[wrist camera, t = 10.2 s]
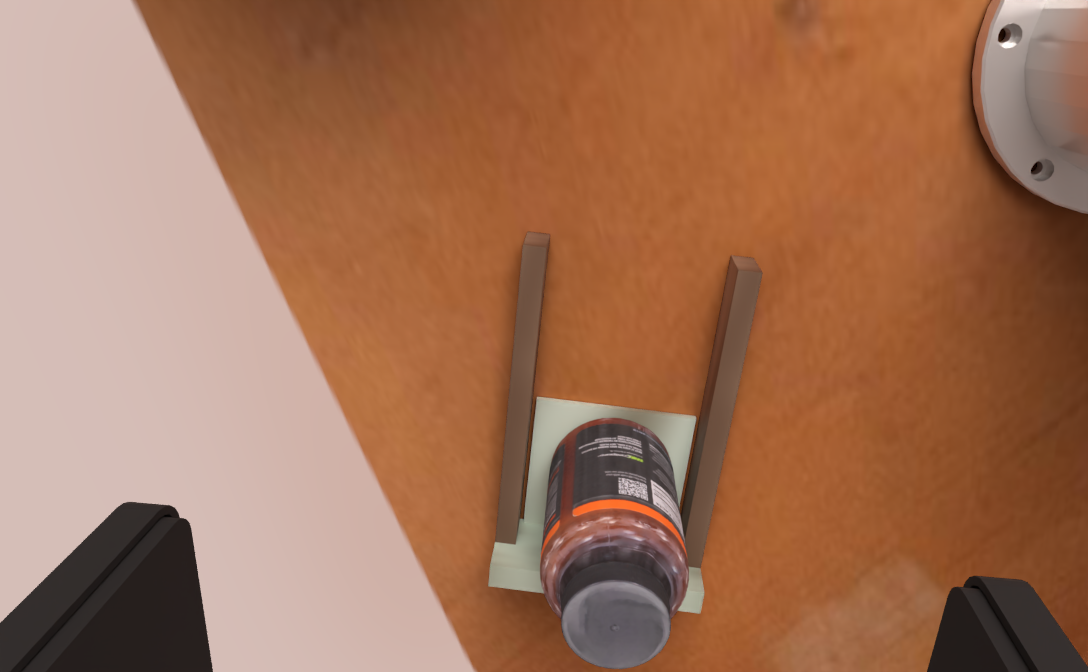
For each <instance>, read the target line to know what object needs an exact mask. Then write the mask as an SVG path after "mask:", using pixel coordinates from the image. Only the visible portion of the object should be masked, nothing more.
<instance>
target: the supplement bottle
mask: <svg viewBox="0 0 1088 672" xmlns="http://www.w3.org/2000/svg"><path fill="white" fill-rule="evenodd" d="M541 550H542V551H541V561H540V580H541V585H542V589H543V592H544V595H545V597H546V599H547V601H548V603H549V605H550V606H551V608H552V610H553V611H554V612H555V614H556V615H557V616H558V617H559V618H560V619H561V627H562V632H563V635H564V638H565V640H566V642H567V644H568V645H569V647H570V648H571V649H572V650H573V651H574V652H575V653H576V654H577V655H578V656H579V657H581V658H582V659H583V660H585V661H587V662H589V663H591V664H594V665H596V666H599V667H604V668H610V669H625V668H630V667H635V666H638V665H641V664H644V663H645V662H647V661H649V660H651V659H652V658H653V657H655V656H656V655H657V654H658V653H659V652H660V651H661V650H662V649H663V647H664V646H665V644H666V642H667V640H668V638H669V635H670V629H671V620H670V619H671V618H672V617H673V616H674V615H675V614H676V612H677V611H678V609H679V607H680V606H681V605H682V602H683V601H684V598H685V596H686V592H687V588H688V582H689V566H688V559H687V552H686V545H685V539H684V534H683V528H682V522H681V515H680V509H679V503H678V497H677V491H676V485H675V479H674V471H673V467H672V464H671V460H670V457H669V454H668V452H667V449H666V448H665V446H664V444H663V443H662V442H661V441H660V439H659V438H658V437H657V436H656V435H655V434H654V433H653V432H652V431H651V430H649V429H648V428H646V427H644V426H642V425H640V424H638V423H636V422H633V421H631V420H626V419H622V418H601V419H595V420H592V421H589V422H586V423H584V424H582V425H580V426H578V427H577V428H575V429H574V430H572V431H571V432H569V433H568V434H567V435H566V436H565V437H564V438H563V439H562V440H561V442H560V443H559V445H558V446H557V448H556V450H555V453H554V455H553V458H552V461H551V466H550V472H549V480H548V489H547V500H546V510H545V520H544V530H543V539H542V548H541Z"/></svg>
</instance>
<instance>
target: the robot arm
mask: <svg viewBox="0 0 1088 672" xmlns="http://www.w3.org/2000/svg"><path fill="white" fill-rule="evenodd" d="M1002 28H1003V29H1004V30H1005V32H1006V36H1005V38H1004V40H1002V41H1001V42H998V34H999V32H1000V30H1001V29H1002ZM972 83H973V104H974V108H975V112H976V116H977V119H978V123H979V127H980V131H981V134H982V135H983V137H984V139H985V141H986V143H987V145H988V147H989V149H990V151H991V153H992V155H993V157H994V158H995V159H996V160H997V162H998V163H999V164H1000V165H1001V166H1002V167H1003V169H1004V170H1005V171H1006V172H1007V173H1008V174H1009V176H1010V177H1011V178H1012V179H1014V180H1015V181H1016V182H1018V183H1019V184H1020V185H1022V186H1023V187H1025V188H1026V189H1027V190H1029V191H1030V192H1031V193H1033V194H1035V195H1037V196H1039V197H1041V198H1043V199H1045V200H1047V201H1049V202H1051V203H1054V204H1056V205H1059V206H1062V207H1065V208H1068V209H1071V210H1074V211H1078V212H1081V213H1086V214H1088V0H992V1H991V3H990V4H989V6H988V8H987V11H986V14H985V17H984V20H983V23H982V26H981V29H980V33H979V36H978V39H977V42H976V49H975V56H974V63H973V70H972ZM1036 162H1037V168H1036V169H1035V170H1034V171H1033V172H1031V168H1032V167H1033V165H1034V164H1035V163H1036ZM0 672H213V669H212V663H211V657H210V650H209V643H208V637H207V630H206V624H205V617H204V610H203V604H202V597H201V591H200V584H199V578H198V571H197V564H196V558H195V552H194V545H193V538H192V532H191V527H190V523H189V522H188V521H187V520H186V519H184V518H180V517H179V514H178V512H177V510H176V509H175V508H174V507H172V506H170V505H158V504H147V503H136V502H127V503H123V504H122V505H120V506H119V507H118V508H116V509H115V510H114V511H113V512H112V513H111V514H110V515H109V516H108V517H107V518H106V519H105V520H104V522H102V523H101V524H100V525H99V526H98V527H97V528H96V529H95V530H94V531H93V532H92V533H91V534H90V535H89V536H88V537H87V538H86V539H85V540H84V541H83V542H82V543H81V544H80V545H79V546H78V547H77V548H76V549H75V550H74V551H73V552H72V553H71V554H70V555H69V556H68V557H67V558H66V559H65V560H64V561H63V562H62V563H61V564H60V565H59V566H58V567H57V568H56V569H55V570H54V571H53V572H51V574H49V575H48V577H46V578H45V579H44V580H43V582H41V583H40V584H39V586H37V587H36V588H35V589H34V590H33V591H32V592H31V594H29V595H28V596H27V597H26V598H25V599H24V600H23V601H22V602H21V603H20V604H19V605H18V606H17V607H16V608H15V609H14V610H13V611H12V612H11V613H10V614H9V615H8V616H7V617H6V618H5V619H4V620H3V621H2V622H1V623H0ZM927 672H1088V666H1087V665H1086V664H1085V662H1084V661H1083V659H1082V658H1081V656H1080V655H1079V654H1078V652H1077V651H1076V649H1075V648H1074V646H1073V645H1072V644H1071V642H1070V641H1069V639H1068V638H1067V636H1066V635H1065V633H1064V632H1063V631H1062V629H1061V628H1060V626H1059V625H1058V623H1057V622H1056V621H1055V619H1054V618H1053V616H1052V615H1051V613H1050V612H1049V610H1048V609H1047V608H1046V606H1045V605H1044V603H1043V602H1042V600H1041V599H1040V598H1039V596H1038V595H1037V593H1036V592H1035V590H1034V589H1033V588H1032V587H1031V586H1030V585H1029V583H1028V582H1025V581H1023V580H1017V579H1006V578H994V577H983V576H972V577H969V579H968V580H967V581H966V582H965V584H964V587H954V588H952V590H951V591H950V593H949V595H948V598H947V602H946V605H945V609H944V612H943V616H942V620H941V623H940V627H939V631H938V634H937V638H936V641H935V645H934V649H933V652H932V656H931V659H930V663H929V667H928V670H927Z"/></svg>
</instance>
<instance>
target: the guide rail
mask: <svg viewBox="0 0 1088 672" xmlns="http://www.w3.org/2000/svg"><path fill="white" fill-rule="evenodd" d="M549 241H550V234H544V233H535V232H527V235H526V238H525V241H524V243H523V250H522V261H521V272H520V282H519V293H518V304H517V314H516V325H515V336H514V346H513V357H512V368H511V378H510V389H509V400H508V410H507V421H506V432H505V442H504V453H503V464H502V474H501V485H500V496H499V506H498V517H497V528H496V538H495V545H494V550H493V555H492V559H491V564H490V573H489V584H488V586H491V587H499V588H506V589H514V590H522V591H530V592H537V593H544V592H543V589H542V585H541V580H540V561H541V551H542V550H541V548H542V539H543V530H544V520H545V510H546V500H547V489H548V480H549V472H550V466H551V461H552V458H553V455H554V453H555V450H556V448H557V446H558V445H559V443H560V442H561V440H562V439H563V438H564V437H565V436H566V435H567V434H568V433H569V432H571V431H572V430H574V429H575V428H577V427H578V426H580V425H582V424H584V423H586V422H589V421H592V420H595V419H601V418H622V419H626V420H631V421H633V422H636V423H638V424H640V425H642V426H644V427H646V428H648V429H649V430H651V431H652V432H653V433H654V434H655V435H656V436H657V437H658V438H659V439H660V441H661V442H662V443H663V444H664V446H665V448H666V449H667V452H668V454H669V457H670V460H671V464H672V467H673V471H674V479H675V485H676V491H677V497H678V503H679V506H680V501H681V496H682V490H683V485H684V480H685V475H686V470H687V464H688V459H689V454H690V449H691V444H692V438H693V433H694V428H695V423H696V416H691V415H683V414H675V413H667V412H659V411H651V410H643V409H634V408H626V407H618V406H610V405H602V404H594V403H585V402H577V401H569V400H561V399H553V398H545V397H537V401H536V410H535V419H534V429H533V438H532V447H531V456H530V466H529V475H528V484H527V493H526V503H525V512H524V519H520V514H521V505H522V495H523V486H524V476H525V467H526V458H527V448H528V439H529V429H530V420H531V411H532V401H533V392H534V382H535V373H536V363H537V354H538V345H539V335H540V326H541V316H542V307H543V297H544V288H545V279H546V269H547V260H548V250H549ZM761 278H762V271H761V269H760V268H759V266H758V264H757V263H756V261H755V259H754V258H750V257H741V256H732V255H731V258H730V263H729V268H728V273H727V279H726V284H725V289H724V294H723V299H722V304H721V310H720V315H719V320H718V325H717V330H716V335H715V341H714V346H713V351H712V356H711V361H710V366H709V372H708V377H707V382H706V387H705V392H704V397H703V403H702V408H701V413H700V418H699V423H698V428H697V434H696V439H695V444H694V449H693V454H692V459H691V465H690V470H689V475H688V480H687V485H686V490H685V496H684V501H683V506H682V511H681V522H682V528H683V534H684V539H685V545H686V552H687V559H688V566H689V582H688V588H687V592H686V596H685V598H684V601H683V602H682V605H681V606H680V607H679V609H678V611H684V612H691V613H699V614H700V612H701V607H702V602H703V598H704V587H703V581H702V575H701V569H700V568H701V563H702V558H703V554H704V549H705V544H706V539H707V535H708V530H709V525H710V520H711V516H712V511H713V506H714V501H715V497H716V492H717V487H718V482H719V478H720V473H721V468H722V463H723V459H724V454H725V449H726V444H727V440H728V435H729V430H730V425H731V421H732V416H733V411H734V406H735V402H736V397H737V392H738V387H739V383H740V378H741V373H742V368H743V364H744V359H745V354H746V349H747V345H748V340H749V335H750V330H751V326H752V321H753V316H754V311H755V307H756V302H757V297H758V292H759V288H760V283H761Z"/></svg>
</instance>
